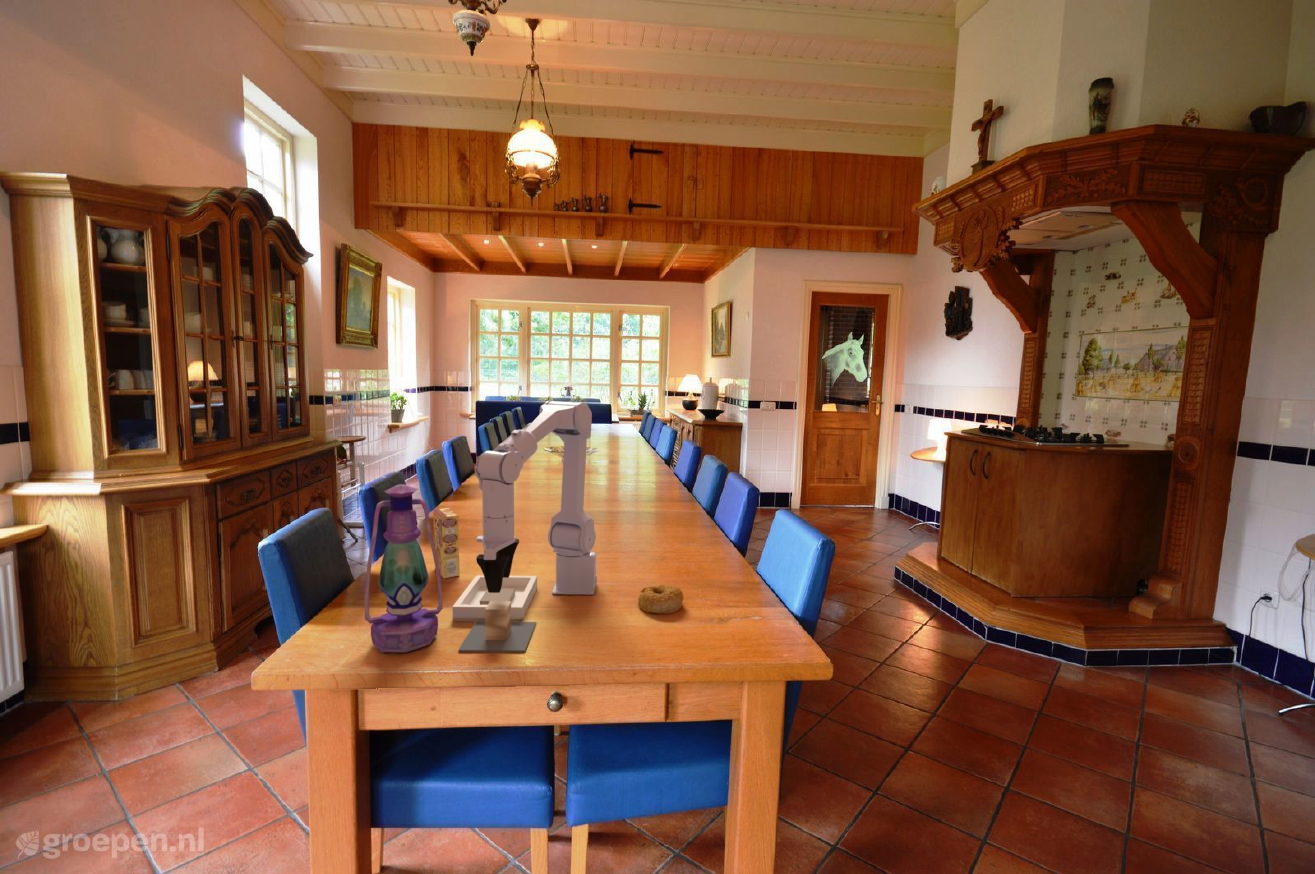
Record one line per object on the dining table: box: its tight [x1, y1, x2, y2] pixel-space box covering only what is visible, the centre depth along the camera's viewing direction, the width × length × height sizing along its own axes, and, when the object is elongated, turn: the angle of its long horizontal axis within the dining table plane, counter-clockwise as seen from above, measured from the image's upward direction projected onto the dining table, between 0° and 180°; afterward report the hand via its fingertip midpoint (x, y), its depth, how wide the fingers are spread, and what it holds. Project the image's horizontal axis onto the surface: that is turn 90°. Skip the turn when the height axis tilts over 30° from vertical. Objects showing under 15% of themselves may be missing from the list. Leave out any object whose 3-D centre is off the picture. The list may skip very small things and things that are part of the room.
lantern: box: [363, 483, 443, 653], centre depth 110 cm, size 13×12×30 cm
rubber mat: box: [457, 621, 537, 654], centre depth 114 cm, size 12×12×1 cm
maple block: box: [484, 601, 512, 640], centre depth 114 cm, size 4×4×6 cm
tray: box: [452, 574, 538, 622], centre depth 130 cm, size 14×18×3 cm
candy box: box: [432, 507, 461, 579], centre depth 147 cm, size 9×4×15 cm, turn 33°
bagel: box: [637, 584, 684, 615], centre depth 131 cm, size 10×11×5 cm
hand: (499, 584), depth 113 cm, fingers open, 7 cm apart
